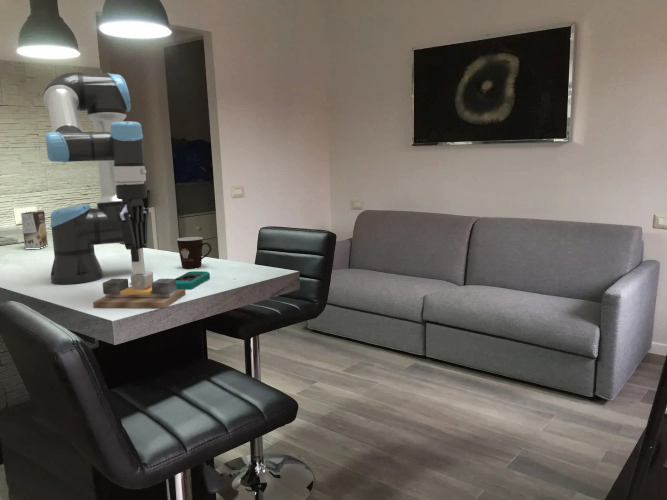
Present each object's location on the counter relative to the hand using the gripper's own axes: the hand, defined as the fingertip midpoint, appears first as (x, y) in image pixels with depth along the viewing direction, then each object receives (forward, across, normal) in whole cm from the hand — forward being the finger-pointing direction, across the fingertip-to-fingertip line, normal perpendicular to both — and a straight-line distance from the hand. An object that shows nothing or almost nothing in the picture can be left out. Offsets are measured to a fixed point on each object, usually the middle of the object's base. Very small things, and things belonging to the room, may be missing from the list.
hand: (138, 273), depth 146 cm
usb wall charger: (+5, 0, 0) cm, 5 cm away
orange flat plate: (+5, 0, 0) cm, 5 cm away
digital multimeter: (+8, +20, -6) cm, 23 cm away
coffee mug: (+8, +44, +2) cm, 45 cm away
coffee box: (+8, +88, +91) cm, 127 cm away
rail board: (+8, 0, 0) cm, 8 cm away
